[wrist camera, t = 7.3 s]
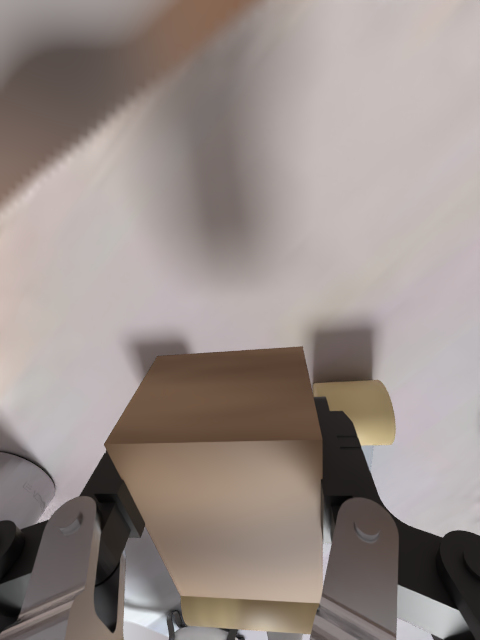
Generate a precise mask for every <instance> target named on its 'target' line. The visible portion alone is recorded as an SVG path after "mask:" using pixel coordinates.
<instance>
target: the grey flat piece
mask: <svg viewBox="0 0 480 640" xmlns="http://www.w3.org/2000/svg"><path fill="white" fill-rule="evenodd" d="M322 396H325V397H326V399H327V402H328V406H329V409H330V411H343V412H344V413H345V414H346V415H347V416H348V417H349V418H350V419H351V421H352V422H353V424H354V427H355V430H356V433H357V436H358V438H359V441H360V444H361V448H362V450H363V453H364V455H365V458H366V461H367V464H368V467H369V470H370V471H371V463H372V454H373V446H374V445H391V444H392V443H393V442H394V439H395V430H396V428H395V416H394V411H393V406H392V403H391V399H390V397H389V394H388V392H387V390H386V388H385V386H384V385H383V383H382V382H381V381H379V380H366V381H346V382H327V383H314V385H313V397H322Z"/></svg>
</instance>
